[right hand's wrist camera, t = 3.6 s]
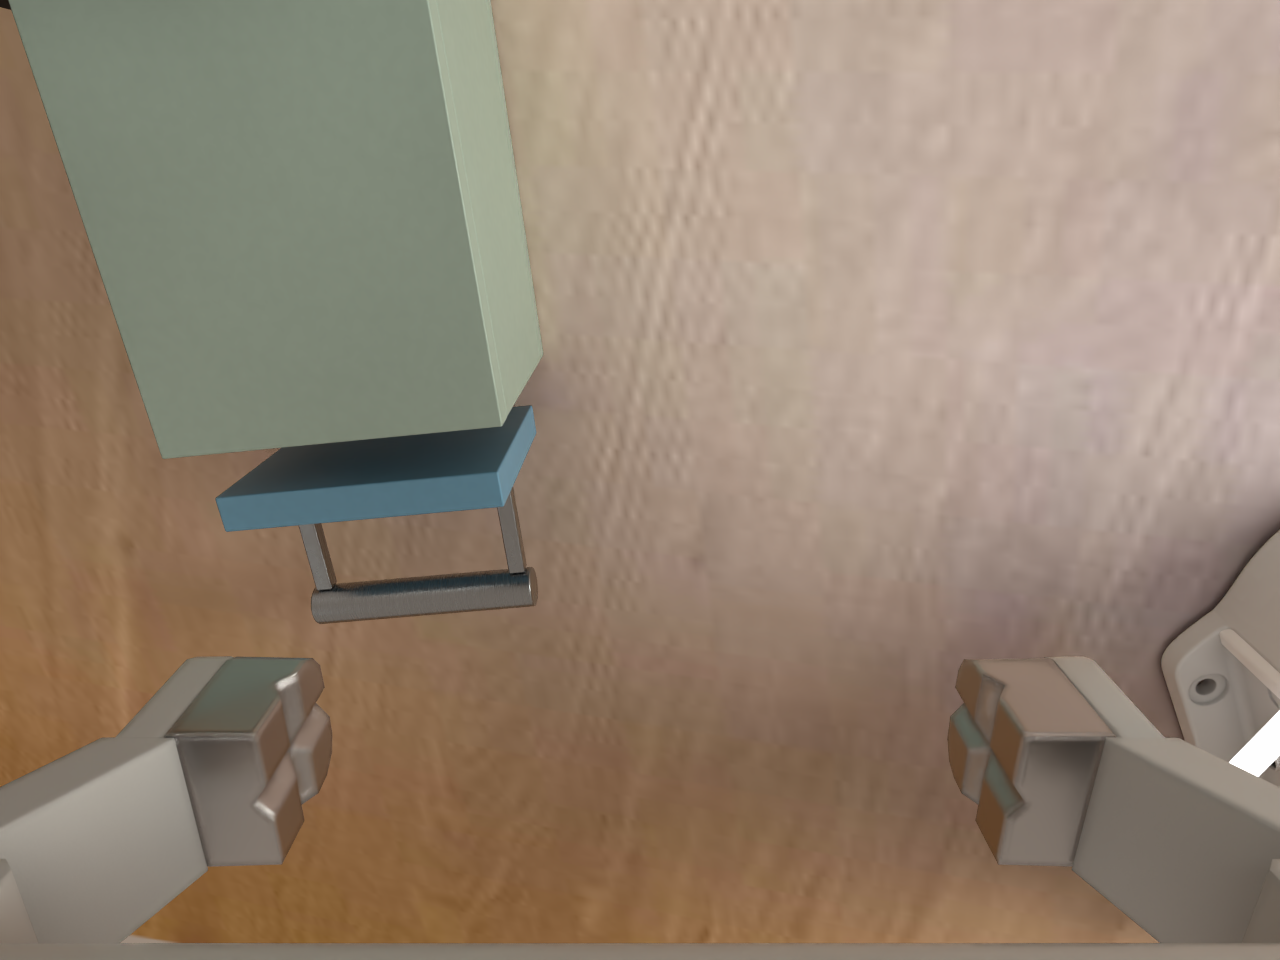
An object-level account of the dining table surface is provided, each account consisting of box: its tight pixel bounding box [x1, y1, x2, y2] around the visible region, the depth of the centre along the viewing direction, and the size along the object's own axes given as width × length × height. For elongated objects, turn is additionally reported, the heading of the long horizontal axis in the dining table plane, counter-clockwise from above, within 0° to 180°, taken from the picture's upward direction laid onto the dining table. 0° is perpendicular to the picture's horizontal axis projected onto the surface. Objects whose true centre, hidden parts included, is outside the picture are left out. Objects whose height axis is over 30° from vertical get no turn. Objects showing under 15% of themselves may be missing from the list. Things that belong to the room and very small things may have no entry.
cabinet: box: [8, 0, 543, 459], centre depth 25 cm, size 17×10×9 cm, turn 6°
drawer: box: [216, 405, 538, 624], centre depth 28 cm, size 21×9×8 cm, turn 6°
